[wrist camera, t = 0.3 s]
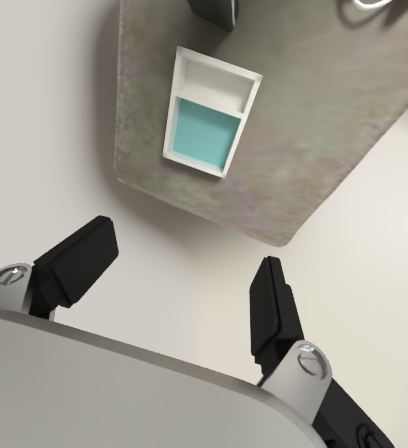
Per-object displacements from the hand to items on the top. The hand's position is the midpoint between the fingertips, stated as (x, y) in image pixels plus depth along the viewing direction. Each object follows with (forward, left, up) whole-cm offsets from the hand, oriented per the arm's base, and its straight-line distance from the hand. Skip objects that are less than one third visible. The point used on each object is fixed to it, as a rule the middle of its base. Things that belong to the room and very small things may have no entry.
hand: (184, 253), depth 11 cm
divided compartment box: (-5, -5, -30) cm, 31 cm away
